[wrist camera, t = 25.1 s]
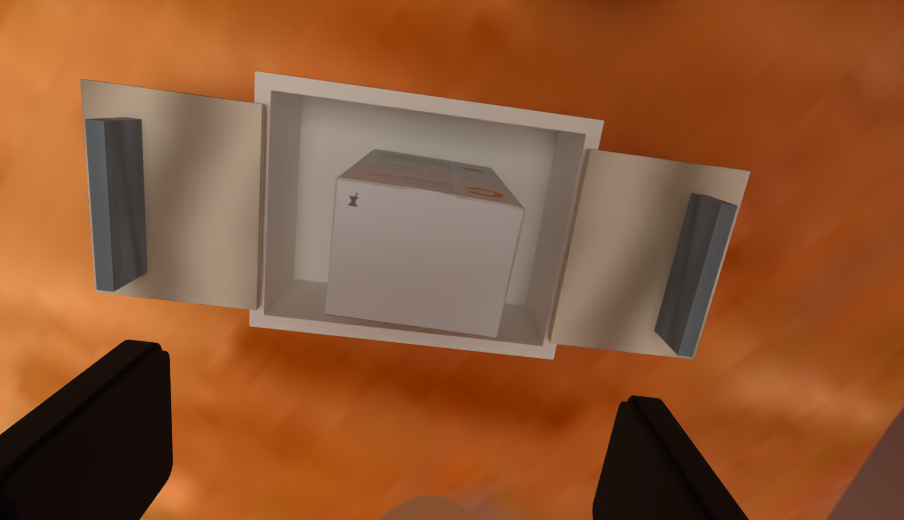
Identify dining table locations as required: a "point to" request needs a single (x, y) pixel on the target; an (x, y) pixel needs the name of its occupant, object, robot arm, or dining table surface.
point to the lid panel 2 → (645, 253)
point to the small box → (422, 244)
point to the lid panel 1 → (174, 194)
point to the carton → (424, 134)
